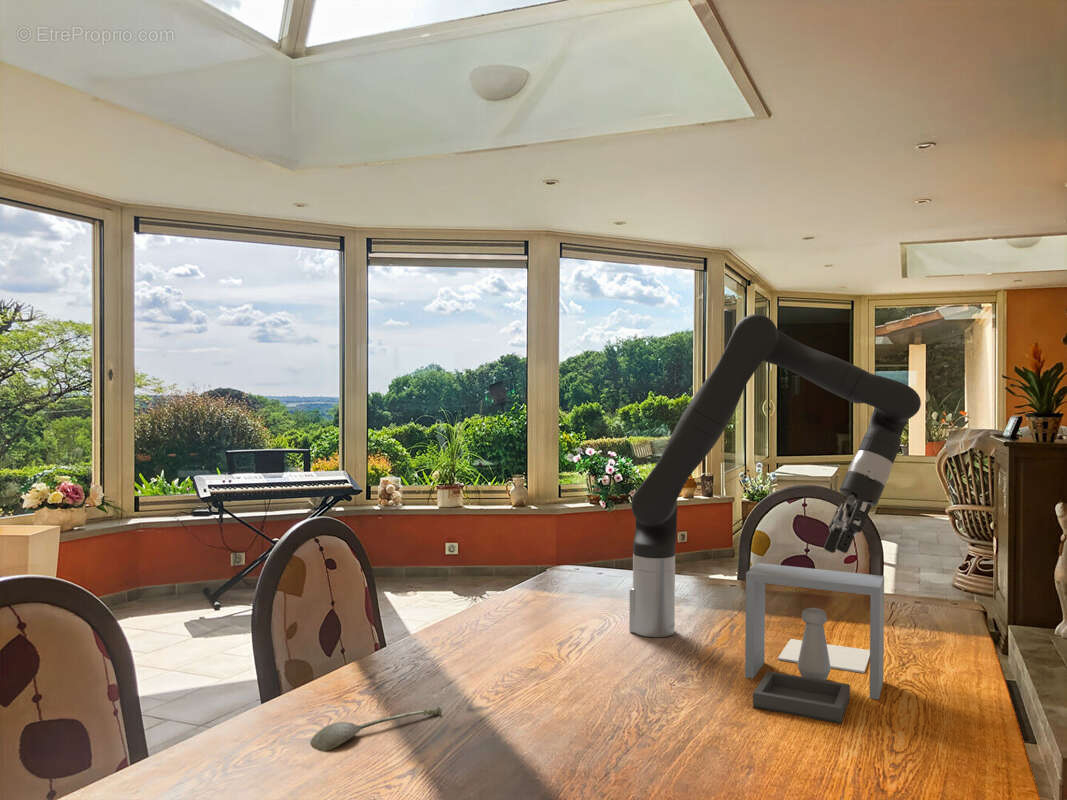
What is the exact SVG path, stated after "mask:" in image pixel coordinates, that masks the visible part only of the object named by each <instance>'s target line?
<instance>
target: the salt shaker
mask: <svg viewBox="0 0 1067 800" xmlns="http://www.w3.org/2000/svg"><path fill="white" fill-rule="evenodd" d="M801 617H802V621H803V622H804V623H805V627H804V631H803V635H802V645H801V649H800V654H799V659H798V663H797V668H798V671H799V674H800V676H801V677H807V678H813V679H819V680H825V681H827V679H828V677H829V675H830V673H831V669H832V668H831V667H830V661H829V655H828V649H827V644H828V643H827V638H826V633H825V627H824V624H826V623H827V618H828V616H827V613H826V611H825V610H823V609H821V608H816V607H808V608H805V609H803V610H802V613H801Z"/></svg>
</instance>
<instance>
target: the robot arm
mask: <svg viewBox="0 0 1067 800" xmlns="http://www.w3.org/2000/svg"><path fill="white" fill-rule="evenodd" d="M763 362H765V363H768V364H772V365H775V366H777V367H780V368H782V369H785V370H787V371H790V372H792V373H794V374H796V375H799V377H802V378H804V379H806V380H807V381H809V382H811V383H812V384H815V385H816V386H818V387H820V388H822V389H824V390H825V391H827V392H829V393H832V394H834V395H836V396H837V397H840V398H843V399H845V400H846V401H848V402H851V403H853V404H859V405H860V404H866V405H868V406H871V407H874V408H873V410H872V411H873V412H872V413H871V417H870V420H869V423H868V427H867V430H866V432H865V433H864V436H863V438H862V440H861V442H860V444H859V447H858V450H857V452H856V454H855V455H854V457H853V458H852V460H851V462H850V463H849V466H848V469H847V471H846V473H845V475H844V478H843V479H842V483H841V485H840V487H839V493H840V494H841V495H842V496H845V497H846V500H845V502H844V503H842V502H840V503H839V504H838V505H837V508H836V510H835V513H834V515H833V517H832V518H831V521H830V524H829V525H828V527H827V529H828V530H829V534H828V536H827V538H826V541H825V544H824V545H823V549H824V550H825V551H827V552H829V553H832V554H833V553H835V552H836V550H837V551H839V552H841V553H843V554H846V553H848V552H849V549H850V546H851V544H852V543H853V540H854V538H855V537H856V536H857V535H858V534H859V533H861V532H862V531H863V528H864V524H866V523H865V522H866V520H867V518H868V515H869V512H870V510H871V509H872V507H876V506H877V505H878V504H879V501H880V499H881V496H882V494H883V492H884V489H885V486H886V484H887V482H888V480H889V478H890V475H891V471H892V467H893V464H894V462H895V460H896V458H897V455H898V454H899V450H900V449H901V444H902V439H901V437H902V434H903V432H904V430H905V427H906V425H907V423H908V421H909V420H910V419H911V418H913V417H914V416H915V415H917V413H918V412H919V411H920V408H921V404H922V403H921V402H922V400H921V397H920V396H919V394H918V392H917V390H915V389H914V388H912V387H911V386H909V385H907V384H906V383H903V382H900V381H898V380H896V379H891V378H888V377H885V376H881V375H878V374H873V373H871V372H869V371H867V370H865V369H863V368H861V367H858V366H856V365H855V364H852V363H851V362H849V361H846V360H844V359H841V358H839V357H836V356H834V355H831V354H829V353H825V352H823V351H820V350H819V349H816V348H815V349H814V348H813V347H811V346H808V345H805V344H804V343H801V342H799V341H797V340H795V339H794V338H792V337H790V336H789V335H787V334H786V333H784V332H783V331H781V330H779V329H778V328H777V326H776V324H775V323H774V321H773V320H772V319H771V318H769V317H768V316H765V315H762V314H758V313H757V314H756V313H755V314H750V315H747V316H744V317H743V318H741V319H740V320H739V321H738V322H737V324H736V325H735V326H734V329H733V331H732V334H731V336H730V338H729V340H728V341H727V345H726V347H725V349H724V351H723V353H722V355H721V357H720V358H719V360H718V363H716V366H715V368H714V369H713V370H712V371H711V373H710V374H709V376H708V377H707V378H706V379H705V380H704V382H703V383H702V385H701V386H700V388H699V389H698V390H697V391H696V393H695V394H694V396H693V398H692V399H691V400H690V402H689V404H688V405H687V407H686V408H685V410H684V412H683V413H682V415H681V417H680V418H679V420H678V422H677V424H676V426H675V427H674V430H673V431H672V434H671V435H670V437H669V439H668V441H667V443H666V445H665V447H664V449H663V452H662V454H661V457H659V460H658V461H657V462H656V464H655V465H654V467H653V468H652V470H651V471H650V472H649V474H648V475H647V476H646V478H645V480H644V481H643V482H642V483H641V484H640V486H638V487H637V489H636V490H635V492H634V493H633V495H632V497H631V503H630V504H631V511H632V515H633V516H634V517H635V529H634V530H635V532H634V538H633V544H632V587H631V588H629V608H628V609H629V610H628V611H629V612H628V613H629V618H628V619H629V622H628V624H629V625H628V626H629V627H628V628H629V631H628V632H630V633H634V634H636V635H639V636H642V637H647V638H664V637H665V638H666V637H670V636H673V635H674V634H675V629H676V628H675V626H676V625H675V624H676V621H675V613H676V611H675V610H676V603H675V602H676V589H675V588H676V543H677V534H678V533H677V532H678V531H677V529H678V527H677V526H678V498H679V497H680V495H681V492H682V490H683V489H684V486H685V484H686V483H687V481H688V480H689V478H690V476H691V475H692V474H693V472H694V471H695V470H696V469H697V468H698V467H699V465H700V464H702V462H703V460H704V459H705V458H706V457H707V456H708V454H709V453H710V452H711V450H712V449H713V448H714V447H715V445H716V443H717V442H718V441H719V439H720V438H721V436H722V435H723V433H724V431H725V430H726V427H727V426H728V424H729V422H730V420H731V418H732V416H733V415H734V413H735V411H736V408H737V407H738V404H739V402H740V400H741V396H742V395H743V392H744V389H745V387H746V386H747V385H748V383H749V381H750V379H751V378H752V377H753V375H754V374H755V372H756V371H757V369H758V368H759V367H760V365H762V363H763Z"/></svg>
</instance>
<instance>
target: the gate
mask: <svg viewBox="0 0 1067 800" xmlns="http://www.w3.org/2000/svg"><path fill="white" fill-rule="evenodd" d="M766 584H769V585H778V586H787V587H797V588H805V589H813V590H821V591H822V590H823V591H831V592H840V593H841V592H842V593H849V594H857V595H866V596H870V599H869V600H870V607H869V608H870V612H869V616H870V617H869V618H870V619H869V632H870V633H869V650H870V658H869V699H873V700H880V696H881V694H882V693H881V692H882V688H883V684H884V657H885V656H884V655H885V654H884V653H885V651H884V648H885V646H884V645H885V644H884V643H885V641H884V640H885V638H884V637H885V635H884V634H885V629H884V628H885V575H879V574H869V573H868V574H867V573H859V572H850V571H841V570H840V571H839V570H831V569H830V570H829V569H820V568H819V569H818V568H809V567H800V566H790V565H779V564H771V563H760V562H757V563H756V564H754V565H753V567H751V568H750V569H748V571H747V572H746V573H745V639H744V640H745V641H744V644H745V645H744V646H745V647H744V648H745V649H744V650H745V651H744V652H745V653H744V655H745V657H744V658H745V659H744V677H745V678H748V679H754V678H755V677H756V676H757V674H758V673H759V671H760V670H761V668H762V667H763V665H764V664H765V659H766V658H765V655H766V654H765V653H766V651H765V650H766V649H765V647H766V643H765V641H766V639H765V638H766V637H765V636H766V634H765V633H766V629H765V628H766Z"/></svg>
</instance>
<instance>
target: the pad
mask: <svg viewBox="0 0 1067 800" xmlns="http://www.w3.org/2000/svg"><path fill="white" fill-rule="evenodd" d="M802 640H803V639H802ZM802 640H799V639H795V638H794V639H792V638H790V639H789V640H788V642H787V644H786V645H785V647H784V648H783V649H782V651H781V652H780V653H779V655H778V657H777V660H778V661H785V662H788V663H795V664H798V659H799V654H800V649H801V645H802ZM826 644H827V649H828V655H829V661H830V667H831V669H834V670H841V671H848V672H853V673H861V674H865V673H866V670H867V666H868V664H869V662H870V649H863V648H857V647H852V646H851V647H850V646H843V645H842V646H841V645H835V644H829V643H826Z"/></svg>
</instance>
